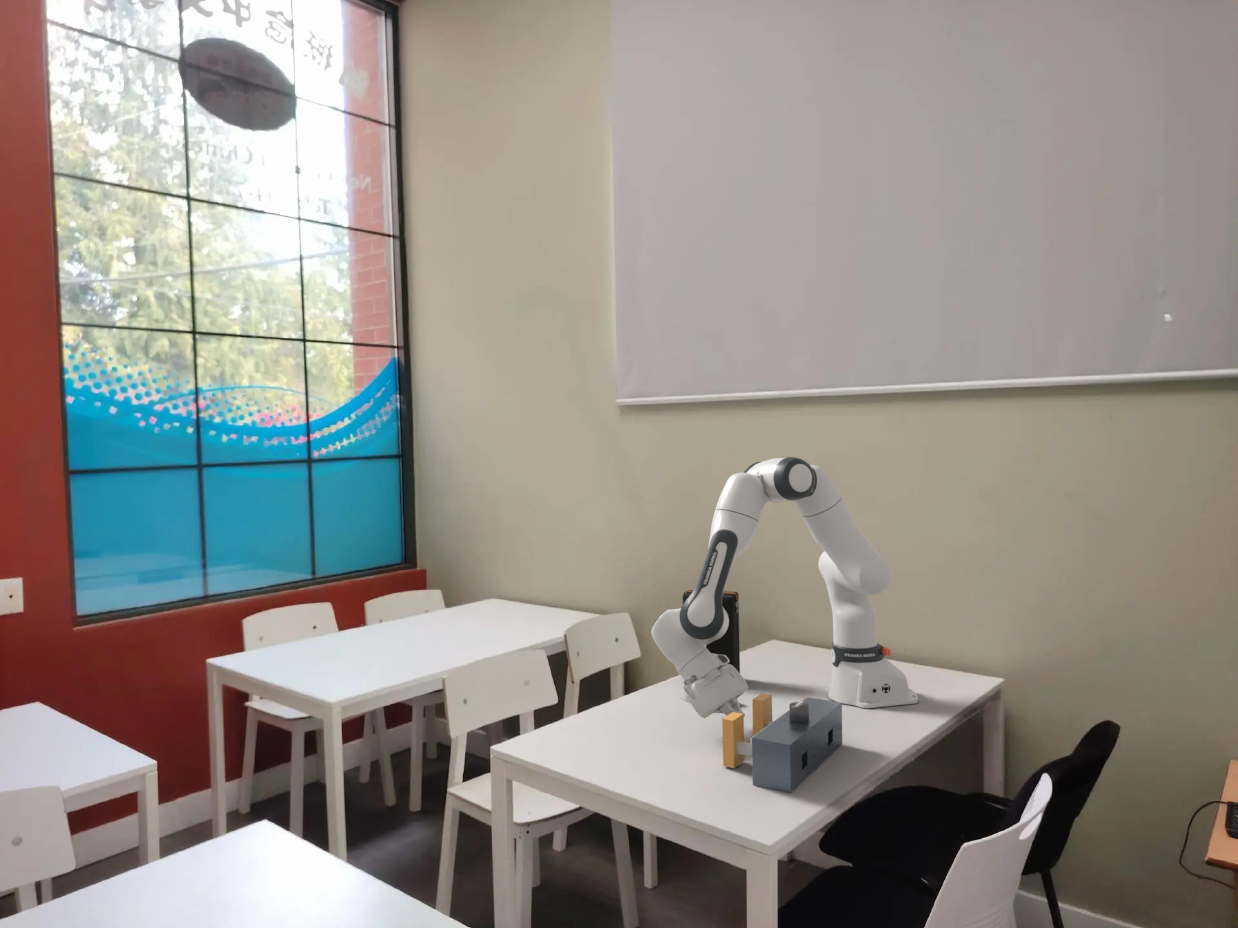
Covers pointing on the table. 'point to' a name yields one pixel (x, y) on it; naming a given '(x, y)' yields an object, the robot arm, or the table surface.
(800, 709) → the dial
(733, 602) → the black box
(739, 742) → the knob
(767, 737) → the mount
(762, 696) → the knob
